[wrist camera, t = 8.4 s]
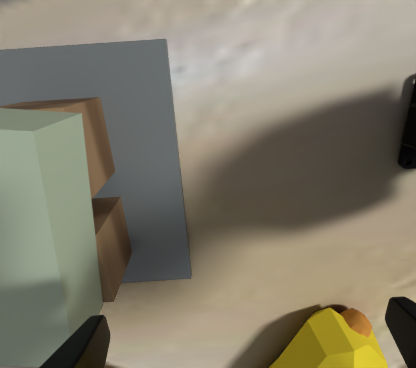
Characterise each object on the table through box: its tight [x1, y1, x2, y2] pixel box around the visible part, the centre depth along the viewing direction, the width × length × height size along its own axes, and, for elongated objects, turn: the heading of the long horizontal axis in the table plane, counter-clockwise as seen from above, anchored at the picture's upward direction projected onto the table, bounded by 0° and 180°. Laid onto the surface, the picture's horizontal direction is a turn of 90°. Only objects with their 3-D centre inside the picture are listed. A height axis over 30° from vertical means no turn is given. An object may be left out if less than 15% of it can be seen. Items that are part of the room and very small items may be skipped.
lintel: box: [0, 108, 103, 367], centre depth 13 cm, size 5×12×4 cm, turn 176°
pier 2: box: [91, 197, 132, 302], centre depth 19 cm, size 5×5×5 cm
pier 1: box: [0, 97, 115, 199], centre depth 16 cm, size 5×5×5 cm
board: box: [0, 39, 192, 283], centre depth 20 cm, size 14×18×1 cm
